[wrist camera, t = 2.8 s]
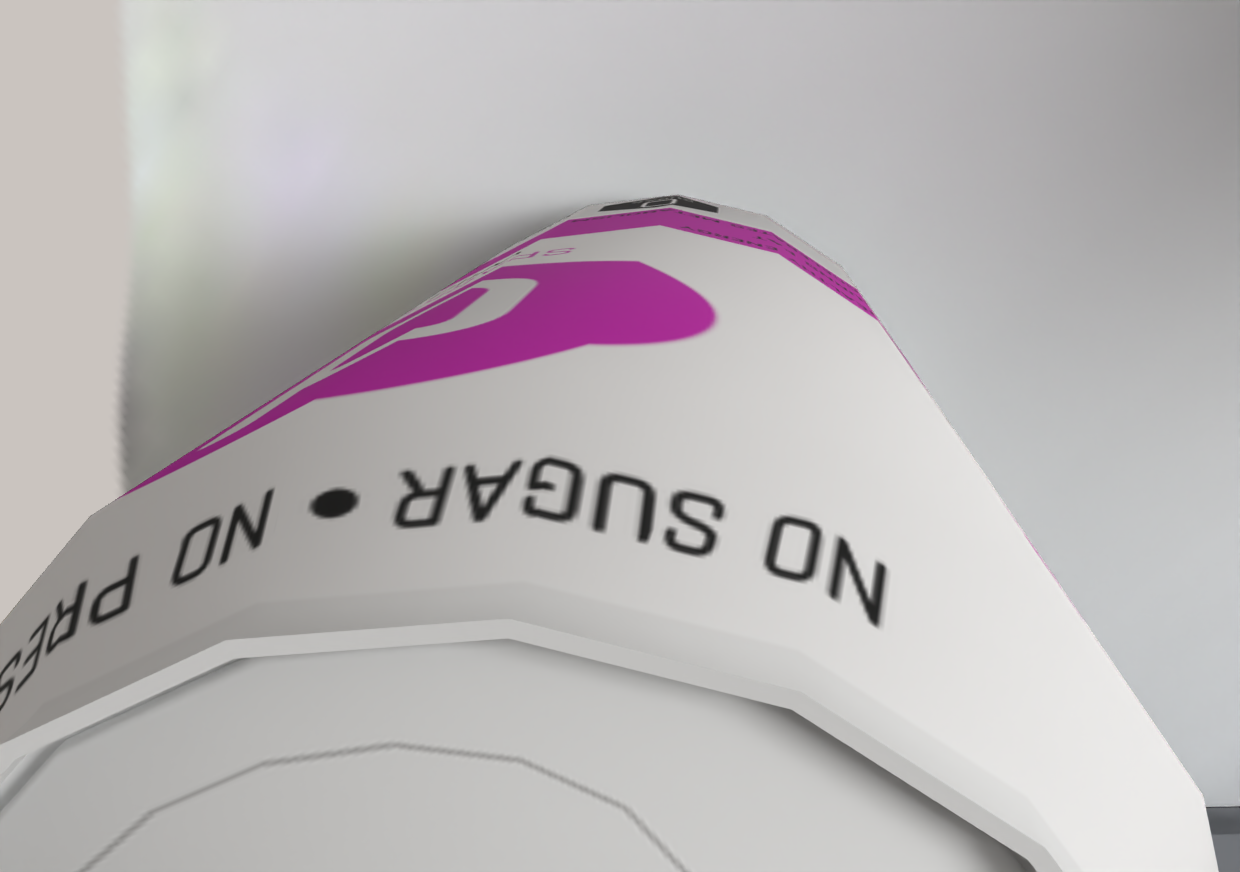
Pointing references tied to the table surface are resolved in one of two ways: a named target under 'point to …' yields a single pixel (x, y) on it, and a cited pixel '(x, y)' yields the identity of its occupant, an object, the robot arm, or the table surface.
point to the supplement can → (583, 606)
